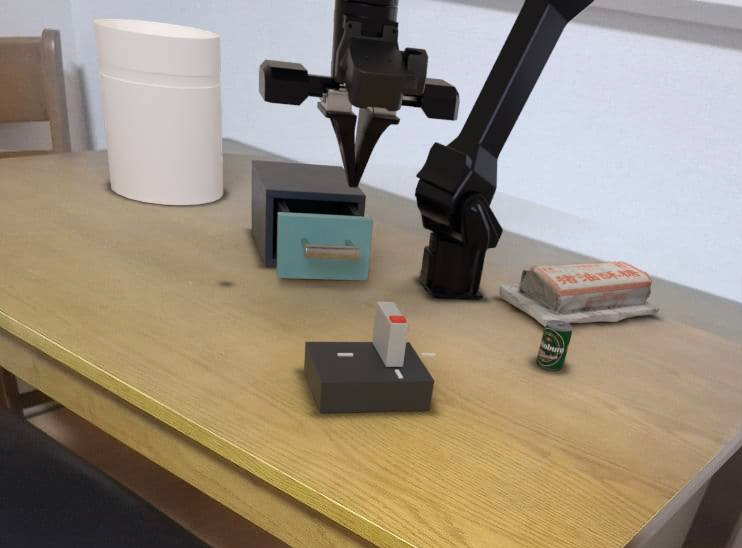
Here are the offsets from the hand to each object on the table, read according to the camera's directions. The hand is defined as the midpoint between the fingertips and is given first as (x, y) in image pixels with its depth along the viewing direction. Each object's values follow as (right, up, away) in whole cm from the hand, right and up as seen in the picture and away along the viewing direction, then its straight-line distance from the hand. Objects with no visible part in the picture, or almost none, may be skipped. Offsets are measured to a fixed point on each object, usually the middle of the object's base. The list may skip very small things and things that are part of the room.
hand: (352, 186), depth 78 cm
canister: (-30, +15, +34) cm, 48 cm away
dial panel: (+2, -22, -8) cm, 24 cm away
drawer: (-5, -4, +13) cm, 14 cm away
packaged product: (+27, -8, +16) cm, 32 cm away
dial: (+4, -20, -9) cm, 22 cm away
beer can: (+20, -18, +1) cm, 27 cm away
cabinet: (-8, +1, +20) cm, 22 cm away
